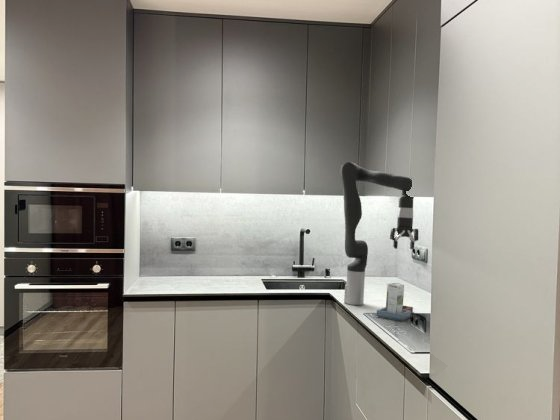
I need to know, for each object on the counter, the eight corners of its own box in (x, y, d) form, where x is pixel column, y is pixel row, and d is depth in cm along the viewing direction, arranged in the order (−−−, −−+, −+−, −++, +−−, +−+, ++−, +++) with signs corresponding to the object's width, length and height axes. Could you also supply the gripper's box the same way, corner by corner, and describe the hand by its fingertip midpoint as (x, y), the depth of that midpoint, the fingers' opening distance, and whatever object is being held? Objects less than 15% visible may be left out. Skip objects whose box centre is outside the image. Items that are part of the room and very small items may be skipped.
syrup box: (391, 312, 218) (393, 282, 218) (403, 315, 214) (404, 284, 214) (385, 314, 214) (386, 283, 214) (396, 316, 210) (398, 285, 210)
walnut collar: (385, 311, 225) (386, 306, 225) (393, 308, 233) (393, 303, 233) (405, 315, 219) (406, 310, 219) (412, 312, 227) (412, 307, 227)
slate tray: (376, 316, 213) (376, 310, 213) (386, 312, 222) (386, 306, 222) (401, 321, 206) (401, 314, 206) (410, 317, 216) (410, 310, 216)
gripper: (415, 217, 238) (413, 248, 238) (389, 216, 236) (387, 247, 236) (421, 217, 231) (420, 250, 231) (395, 216, 228) (393, 249, 228)
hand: (403, 248), depth 233 cm, fingers open, 8 cm apart
